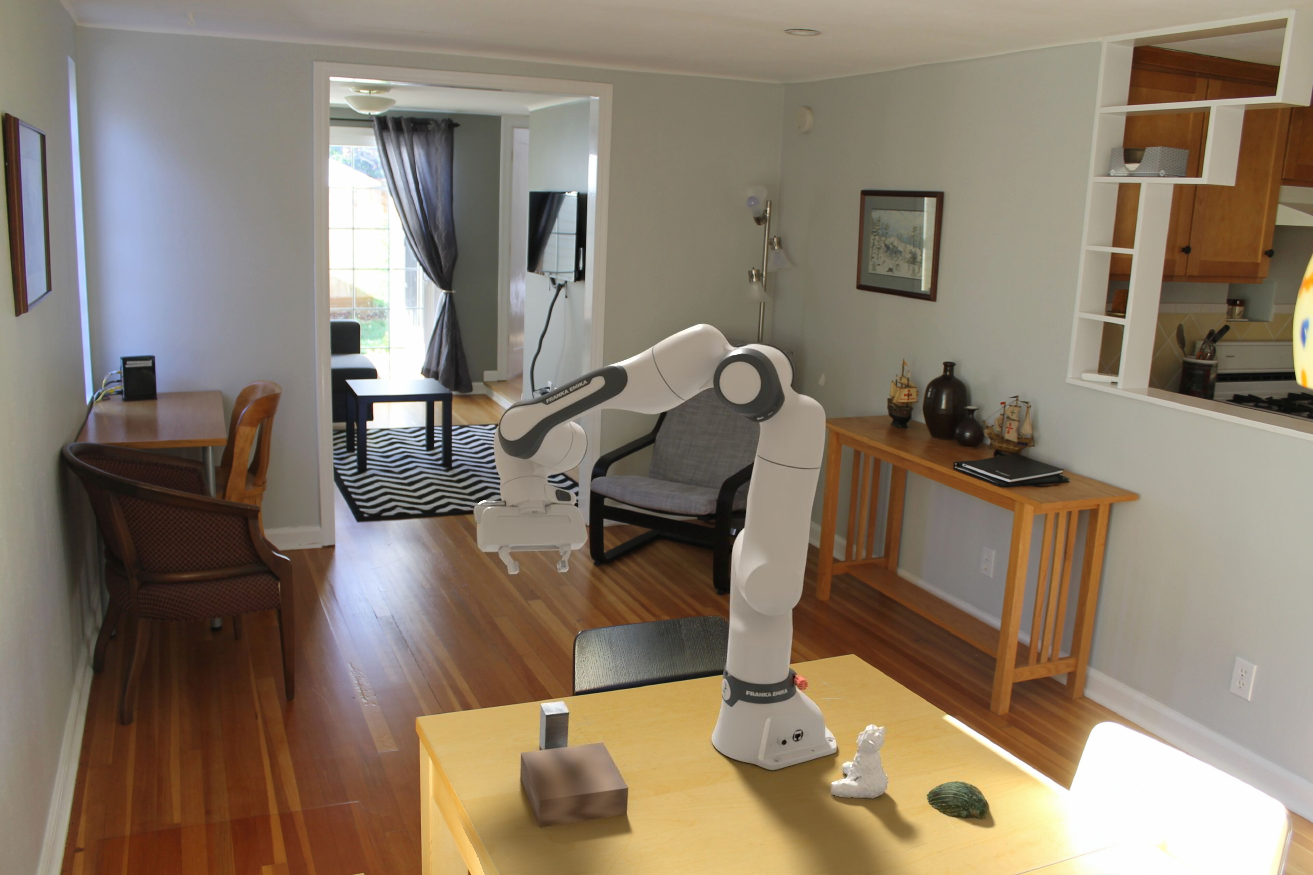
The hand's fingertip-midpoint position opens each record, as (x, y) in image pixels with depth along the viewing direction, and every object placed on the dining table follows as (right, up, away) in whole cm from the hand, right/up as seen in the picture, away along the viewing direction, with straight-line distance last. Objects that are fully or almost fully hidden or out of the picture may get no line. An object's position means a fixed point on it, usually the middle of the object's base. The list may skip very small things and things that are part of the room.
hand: (539, 571), depth 178 cm
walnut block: (+7, -34, -16) cm, 38 cm away
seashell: (+71, -37, -12) cm, 81 cm away
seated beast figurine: (+55, -35, -9) cm, 66 cm away
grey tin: (+3, -31, -3) cm, 31 cm away
